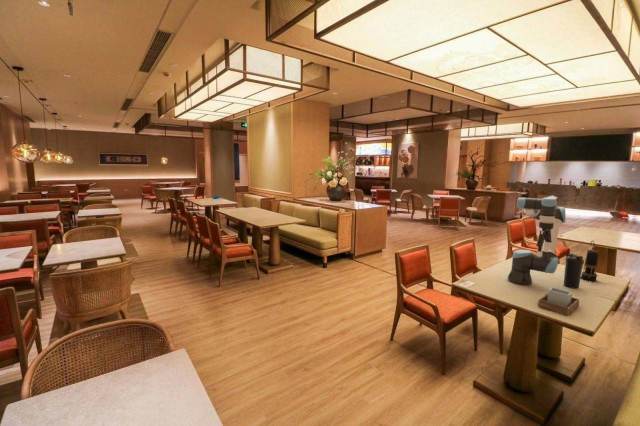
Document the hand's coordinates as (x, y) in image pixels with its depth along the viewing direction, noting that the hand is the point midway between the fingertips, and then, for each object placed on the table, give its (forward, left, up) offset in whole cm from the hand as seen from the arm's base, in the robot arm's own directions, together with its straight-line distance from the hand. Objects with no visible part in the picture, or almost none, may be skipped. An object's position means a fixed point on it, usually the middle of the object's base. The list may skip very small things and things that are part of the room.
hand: (542, 253), depth 203 cm
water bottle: (-35, +9, -28) cm, 46 cm away
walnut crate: (+10, +14, -28) cm, 33 cm away
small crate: (+10, +14, -27) cm, 32 cm away
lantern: (-61, +13, -28) cm, 68 cm away
